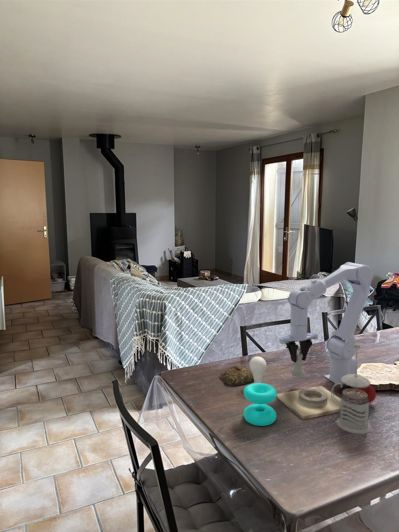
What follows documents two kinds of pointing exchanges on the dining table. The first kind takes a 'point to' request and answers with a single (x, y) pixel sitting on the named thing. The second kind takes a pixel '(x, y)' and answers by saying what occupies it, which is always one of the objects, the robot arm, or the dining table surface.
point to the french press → (353, 418)
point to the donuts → (260, 404)
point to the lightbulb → (257, 368)
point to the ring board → (307, 409)
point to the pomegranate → (369, 393)
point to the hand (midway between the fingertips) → (298, 360)
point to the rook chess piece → (298, 366)
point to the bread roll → (237, 376)
